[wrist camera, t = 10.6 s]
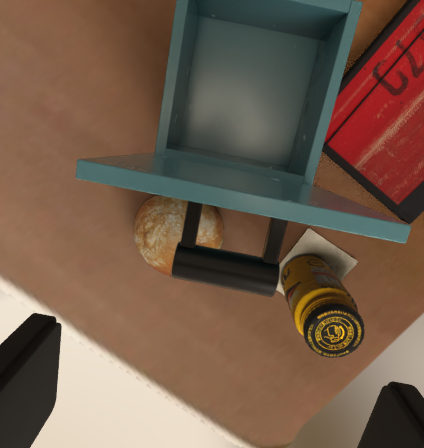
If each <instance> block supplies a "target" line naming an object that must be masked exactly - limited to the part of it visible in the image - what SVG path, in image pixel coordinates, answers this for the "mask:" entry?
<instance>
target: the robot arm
mask: <svg viewBox="0 0 424 448" xmlns="http://www.w3.org/2000/svg"><path fill="white" fill-rule="evenodd" d="M60 341H61V324H60V323H56V318H55V317H53V316H48V315H43V314H38V313H33V314H32V315H31V316H30V317H29V318H27V319H26V320H25V321H24V322H23V324H21V325H20V326H19V327H18V328H17V329H16V330H15V331H14V332H13V333H12V334H11V335H10V336H9V337H8V338H7V339H6V340H5V341H4V342H3V343H2V344H1V345H0V448H30V447H31V445H32V444H33V442H34V440H35V438H36V437H37V435H38V434H39V432H40V430H41V428H42V427H43V426H44V424H45V422H46V421H47V419H48V417H49V416H50V414H51V412H52V410H53V408H54V405H55V401H56V394H57V381H58V368H59V354H60ZM357 448H424V398H423V396H422V395H421V394H420V392H419V391H418V390H417V388H415V387H414V386H412V385H409V384H404V383H398V382H390V383H389V384H388V385H387V386H384V387H383V388H382V390H381V392H380V394H379V396H378V399H377V401H376V404H375V406H374V409H373V411H372V413H371V416H370V418H369V421H368V423H367V426H366V428H365V430H364V433H363V435H362V438H361V440H360V442H359V445H358V447H357Z"/></svg>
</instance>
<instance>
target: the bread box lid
mask: <svg viewBox="0 0 424 448" xmlns="http://www.w3.org/2000/svg"><path fill="white" fill-rule="evenodd" d="M76 178H77V179H81V180H86V181H91V182H96V183H102V184H107V185H112V186H117V187H122V188H127V189H132V190H137V191H142V192H147V193H152V194H157V195H162V196H167V197H172V198H177V199H182V200H187V201H188V203H187V209H186V214H185V220H184V226H183V231H182V237H181V241H180V242H178V244H177V246H176V250H175V254H174V258H173V263H172V269H171V277H172V278H176V279H181V280H186V281H191V282H196V283H202V284H207V285H212V286H217V287H222V288H227V289H232V290H237V291H242V292H247V293H253V294H258V295H263V296H268V297H272V296H273V295H274V294H275V292H276V289H277V286H278V282H279V275H280V265H279V262H278V258H279V254H280V250H281V246H282V242H283V238H284V234H285V230H286V226H287V223H288V221H293V222H298V223H303V224H308V225H313V226H318V227H323V228H328V229H333V230H338V231H343V232H348V233H353V234H358V235H363V236H368V237H373V238H378V239H383V240H388V241H393V242H398V243H403V244H404V243H406V241H407V238H408V235H409V232H410V229H411V226H410V225H409V224H406V223H404V222H401V221H399V220H397V219H394V218H392V217H389V216H387V215H385V214H382V213H380V212H377V211H375V210H373V209H370V208H368V207H365V206H363V205H361V204H358V203H356V202H353V201H351V200H349V199H346V198H344V197H341V196H339V195H337V194H334V193H332V192H329V191H327V190H325V189H322V188H320V187H317V186H315V185H312V184H307V183H302V182H297V181H292V180H287V179H282V178H277V177H272V176H267V175H262V174H257V173H252V172H247V171H242V170H237V169H232V168H227V167H222V166H217V165H212V164H207V163H202V162H197V161H192V160H187V159H182V158H177V157H172V156H167V155H162V154H157V153H148V154H135V155H123V156H111V157H99V158H86V159H78V160H77V168H76ZM203 204H207V205H212V206H217V207H222V208H227V209H232V210H237V211H242V212H247V213H252V214H257V215H262V216H267V217H271V220H270V224H269V228H268V232H267V236H266V240H265V245H264V249H263V253H262V257H257V256H252V255H247V254H242V253H237V252H231V251H226V250H221V249H216V248H211V247H206V246H201V245H196V239H197V234H198V228H199V223H200V218H201V213H202V208H203Z"/></svg>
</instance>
